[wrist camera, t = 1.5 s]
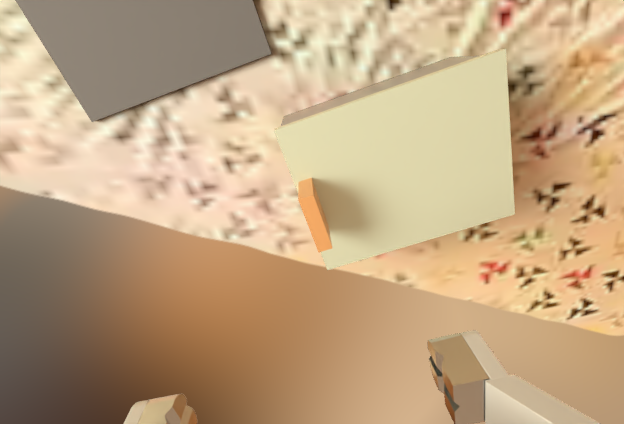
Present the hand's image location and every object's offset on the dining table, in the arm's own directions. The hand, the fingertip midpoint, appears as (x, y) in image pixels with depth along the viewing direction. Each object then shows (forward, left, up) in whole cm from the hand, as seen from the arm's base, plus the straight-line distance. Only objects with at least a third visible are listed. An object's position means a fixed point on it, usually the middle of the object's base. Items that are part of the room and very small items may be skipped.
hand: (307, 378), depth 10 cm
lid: (-9, +2, -21) cm, 23 cm away
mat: (+9, -19, -28) cm, 35 cm away
